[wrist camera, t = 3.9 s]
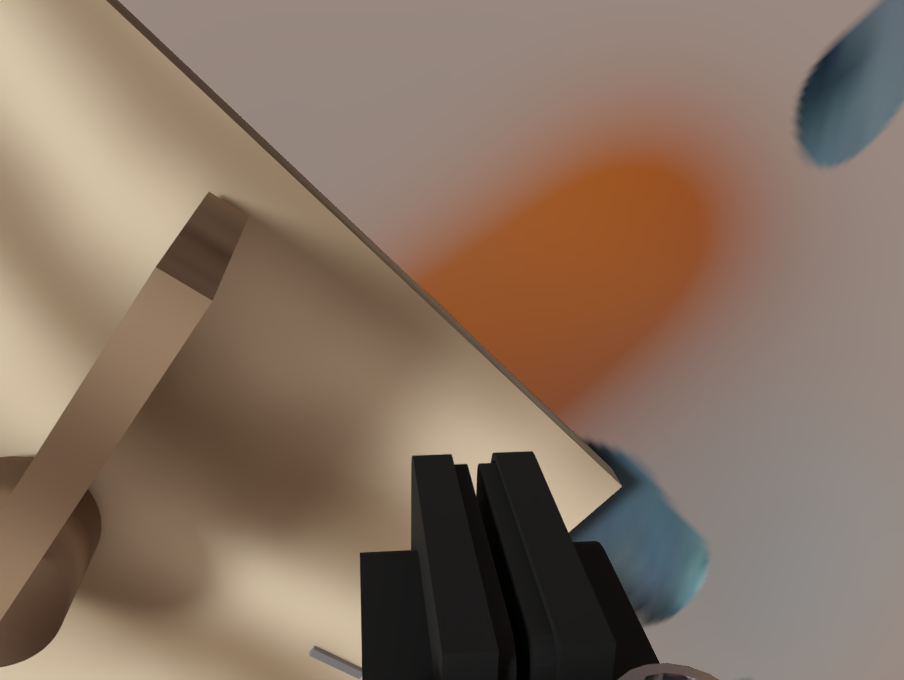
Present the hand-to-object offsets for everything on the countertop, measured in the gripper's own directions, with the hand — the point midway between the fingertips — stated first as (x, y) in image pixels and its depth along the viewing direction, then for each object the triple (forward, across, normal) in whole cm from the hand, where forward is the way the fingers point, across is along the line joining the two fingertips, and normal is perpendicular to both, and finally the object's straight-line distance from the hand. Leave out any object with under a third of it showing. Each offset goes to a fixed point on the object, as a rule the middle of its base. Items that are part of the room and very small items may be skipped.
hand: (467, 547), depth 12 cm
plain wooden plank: (+13, +12, +8) cm, 19 cm away
